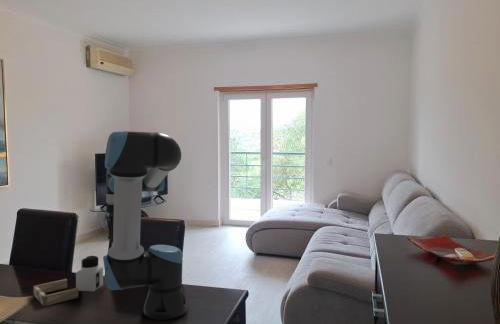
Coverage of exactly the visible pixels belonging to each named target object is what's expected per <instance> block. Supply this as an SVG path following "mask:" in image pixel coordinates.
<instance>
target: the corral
mask: <svg viewBox="0 0 500 324" xmlns="http://www.w3.org/2000/svg"><path fill="white" fill-rule="evenodd" d="M64 289H67V290H64ZM60 290H63V291H60ZM32 291H33V292H32V294H33V295H32V296H33V297H35V298H36V300H37V301H38V302H39V303H40V304H41V306H42V307H46V306H50V305H55V304H58V303H62V302H66V301H70V300H75V299H78V298H79V291H78V288H76V287H74V288H70V289H68V279H67V278H63V279H60V280H55V281H49V282H46V283H41V284H40V283H39V284H35V285H33V286H32ZM56 291H57V292H56ZM51 292H54V293H51ZM47 293H50V294H47Z"/></svg>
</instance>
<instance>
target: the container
mask: <svg viewBox="0 0 500 324" xmlns="http://www.w3.org/2000/svg"><path fill="white" fill-rule="evenodd" d="M80 265H81V267H80V270H77V271H76V272H75V286H76V287H75V288H78V292H95V291H97V290H98V289H99V288H101V287H102V286H103V285H104V266H102V267H101V266H99V257H98V256H96V255H87V256H83V257H82V258H81V259H80Z"/></svg>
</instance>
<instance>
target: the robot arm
mask: <svg viewBox="0 0 500 324" xmlns="http://www.w3.org/2000/svg"><path fill="white" fill-rule="evenodd" d="M104 153H105V155H104V156H105V158H104V167H105V169H106V174H105V178H106V193H105V195H106V196H105V197H106V198H105V202H106V207H105V208H106V213H108V214H109V216H107V217H106V221H107V227H108V237H109V240H110V242H111V247H109V249H108V250H107V254H106V255H103V256H102V260H103V269H104V273H105V275H104V276H105V280H106V287H107V289H108V290H110V291H118V290H120V291H122V290H125V289H133V288H138V287H147V286H148V293H147V295H146V299H145V302H144V305H143V315H144V316H145V317H147V319H152V320H155V321H166V320H173V319H176V318H179V317H181V316H183V315H184V314H185V313H186V312H187V309H188V307H187V305H188V303H187V300H186V297H185V294H184V293H185V292H184V290H183V252H182V250H181V249H180V248H179V247H176V246H173V245H168V244H154V245H150V246H149V248H148V250H146V251H145V249H144V246H142V245H141V243H140V242H141V222H142V221H141V220H142V199H143V197H142V196H143V195H142V194H143V193H145V192H154V193H155V192H162V191H163V190H164V189H165V185H166V184H165V183H166V182H165V179H166V176H167V175H168V174H169V173H170V172H172V171H174V170H175V169H176V168H177V167H178V165H180V162H181V160H182V150H181V147H180V145H179V143H178V142H177V141H176V140H175V139H174V138H172V137H171V136H170V135H168V134H165V133H162V132H156V131H155V132H149V131H148V132H145V131H126V130H125V131H113V132H111V133H110V134H109V136H108V138H107V143H106V149H105V152H104Z"/></svg>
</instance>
